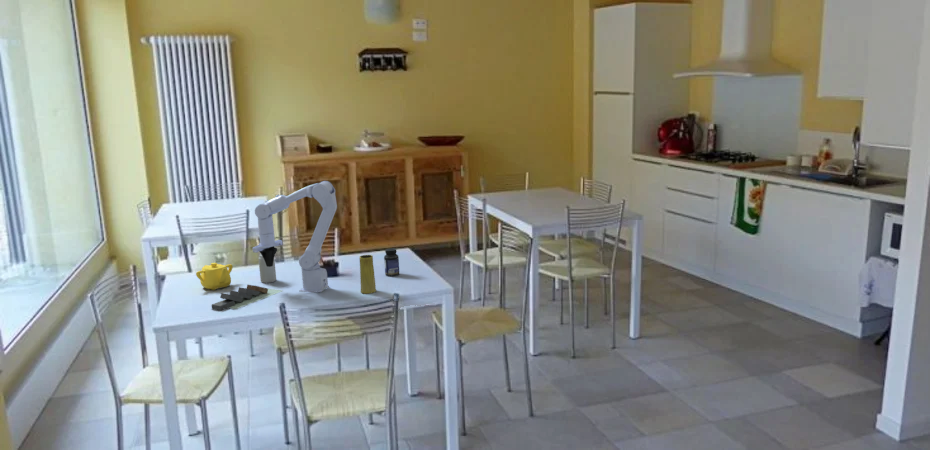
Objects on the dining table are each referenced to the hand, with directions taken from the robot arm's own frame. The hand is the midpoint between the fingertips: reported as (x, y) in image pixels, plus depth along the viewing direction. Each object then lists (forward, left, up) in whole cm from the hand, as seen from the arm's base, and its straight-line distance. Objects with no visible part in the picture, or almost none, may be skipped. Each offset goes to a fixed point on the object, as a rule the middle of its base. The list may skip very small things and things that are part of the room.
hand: (269, 266), depth 284 cm
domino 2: (+5, +17, -9) cm, 20 cm away
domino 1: (+6, +21, -9) cm, 23 cm away
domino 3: (+3, +13, -9) cm, 16 cm away
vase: (-41, -3, -10) cm, 42 cm away
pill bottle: (-42, -28, -10) cm, 51 cm away
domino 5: (+1, +4, -9) cm, 10 cm away
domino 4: (+2, +9, -9) cm, 13 cm away
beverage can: (+7, -11, -10) cm, 17 cm away
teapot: (+25, -1, -10) cm, 27 cm away
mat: (+3, +12, -10) cm, 16 cm away
